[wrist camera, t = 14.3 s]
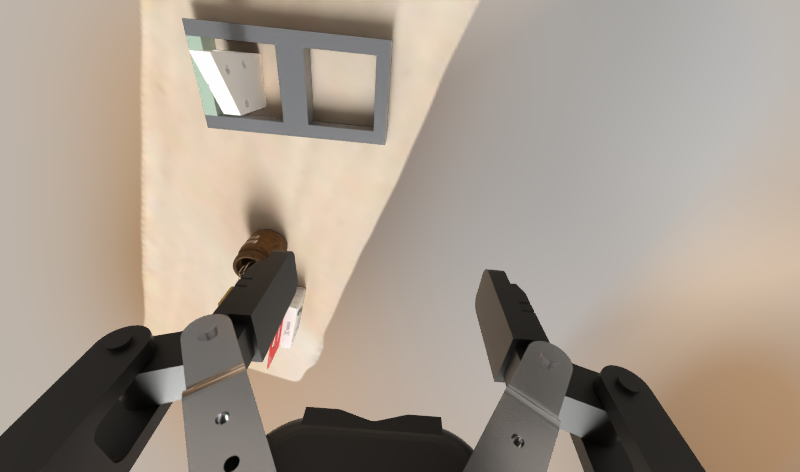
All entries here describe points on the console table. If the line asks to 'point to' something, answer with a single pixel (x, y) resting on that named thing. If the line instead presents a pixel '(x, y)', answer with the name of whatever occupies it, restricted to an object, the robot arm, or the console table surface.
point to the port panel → (293, 80)
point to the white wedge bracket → (233, 79)
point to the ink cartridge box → (288, 324)
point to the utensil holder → (256, 251)
